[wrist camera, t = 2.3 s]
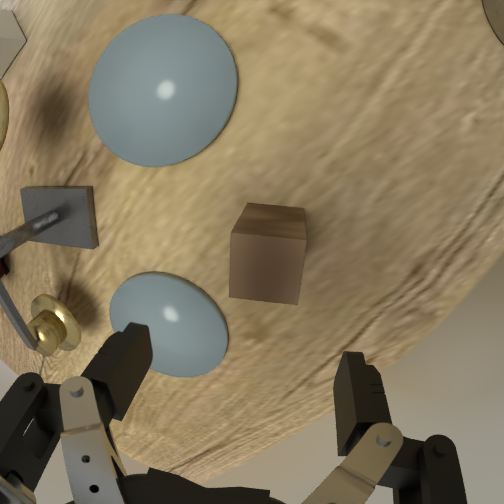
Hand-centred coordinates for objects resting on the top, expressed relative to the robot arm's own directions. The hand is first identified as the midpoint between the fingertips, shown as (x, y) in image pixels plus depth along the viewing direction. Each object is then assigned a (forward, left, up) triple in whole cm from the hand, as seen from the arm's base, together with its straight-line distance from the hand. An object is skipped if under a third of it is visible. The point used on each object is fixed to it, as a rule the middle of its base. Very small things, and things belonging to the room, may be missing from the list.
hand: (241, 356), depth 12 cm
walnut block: (0, 0, -15) cm, 15 cm away
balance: (+22, 0, -15) cm, 26 cm away
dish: (+10, +12, -15) cm, 21 cm away
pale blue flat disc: (+10, -11, -15) cm, 21 cm away
